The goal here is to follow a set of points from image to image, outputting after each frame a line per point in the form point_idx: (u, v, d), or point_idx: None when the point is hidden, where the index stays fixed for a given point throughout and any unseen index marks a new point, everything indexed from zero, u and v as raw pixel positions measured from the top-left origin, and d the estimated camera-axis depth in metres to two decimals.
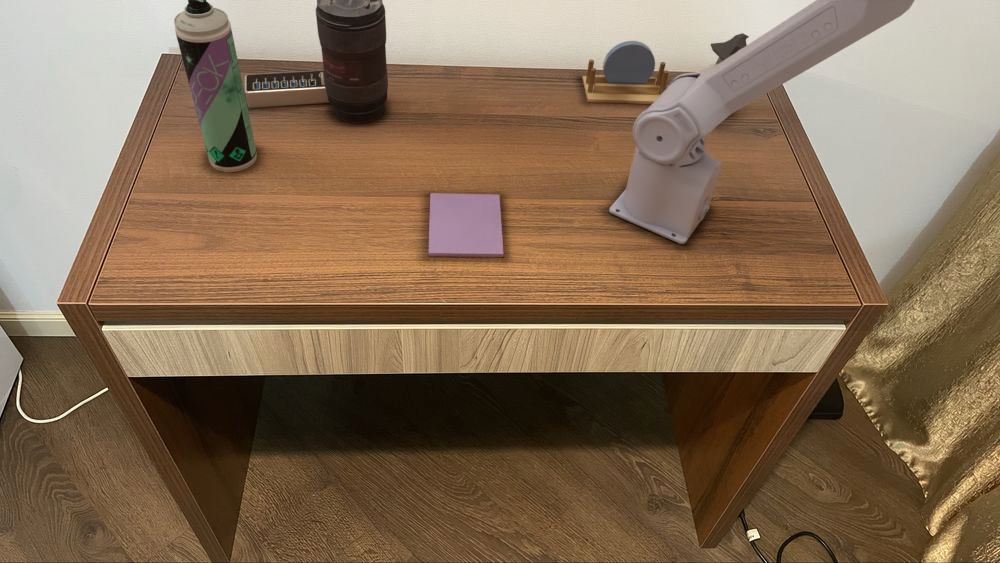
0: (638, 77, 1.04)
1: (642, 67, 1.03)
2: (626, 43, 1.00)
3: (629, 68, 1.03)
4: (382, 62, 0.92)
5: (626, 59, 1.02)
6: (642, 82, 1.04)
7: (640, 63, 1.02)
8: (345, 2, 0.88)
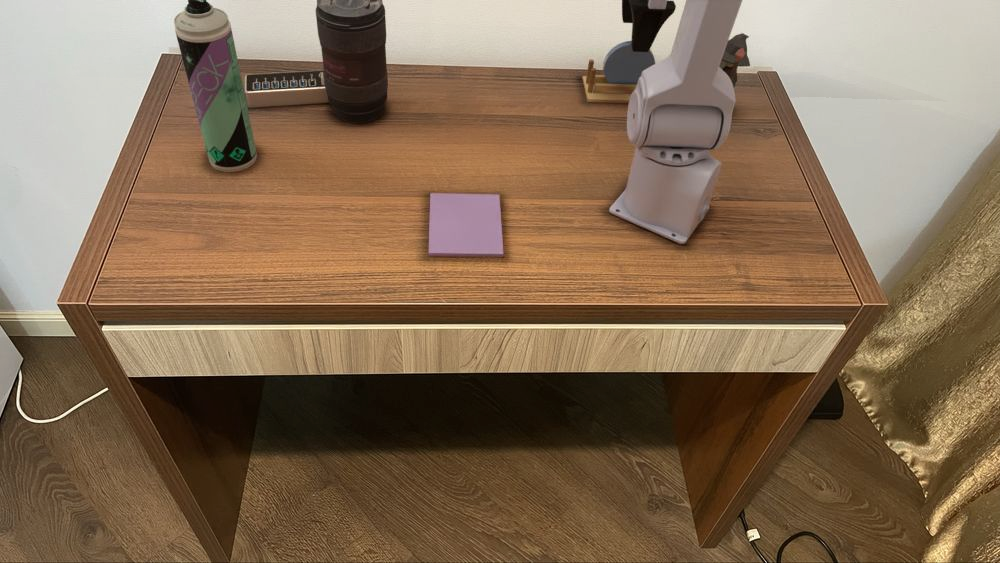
0: (638, 77, 1.04)
1: (642, 67, 1.03)
2: (626, 43, 1.00)
3: (629, 68, 1.03)
4: (382, 62, 0.92)
5: (626, 59, 1.02)
6: None
7: (640, 63, 1.02)
8: (345, 2, 0.88)
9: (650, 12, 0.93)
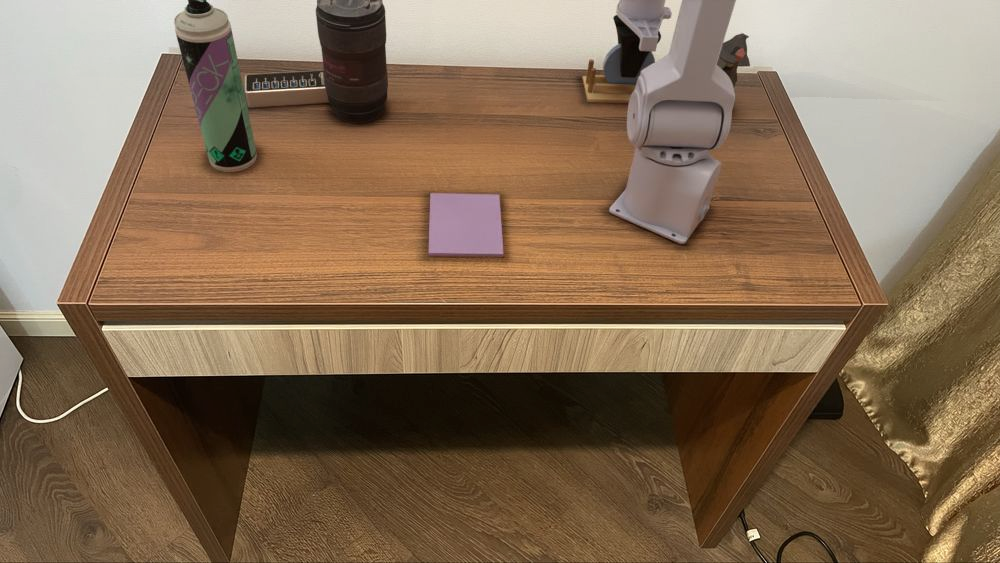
0: None
1: (642, 67, 1.03)
2: None
3: None
4: (382, 62, 0.92)
5: None
6: None
7: None
8: (345, 2, 0.88)
9: (637, 41, 0.99)
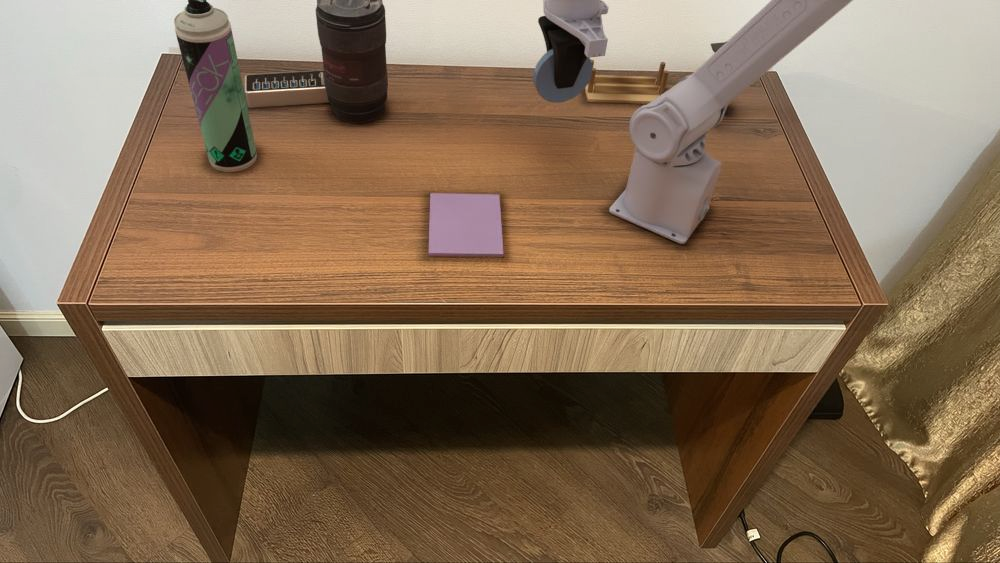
0: (574, 85, 0.88)
1: None
2: None
3: None
4: (382, 62, 0.92)
5: None
6: (579, 90, 0.89)
7: None
8: (345, 2, 0.88)
9: (573, 45, 0.83)
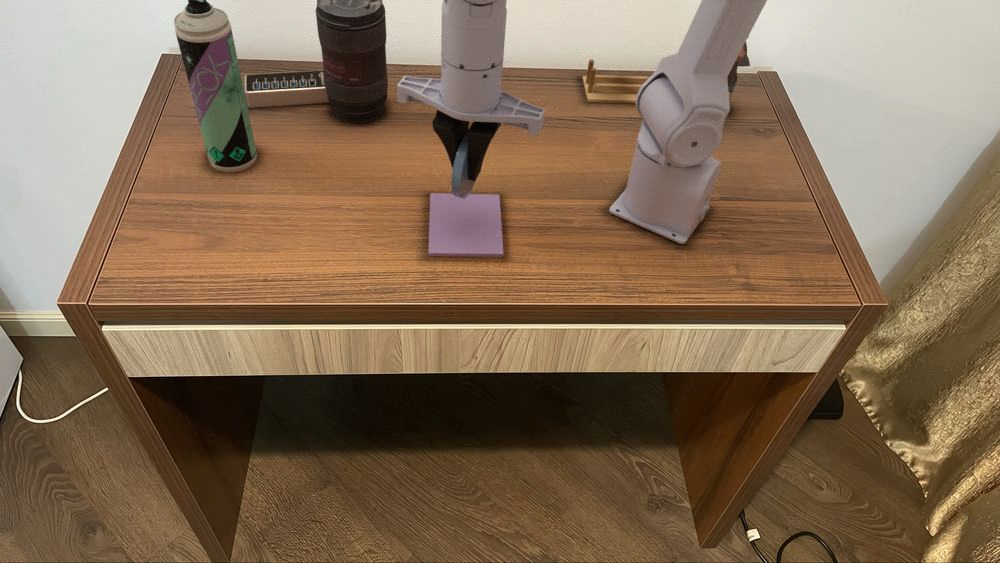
0: None
1: None
2: (467, 143, 0.75)
3: None
4: (382, 62, 0.92)
5: None
6: None
7: None
8: (345, 2, 0.88)
9: None
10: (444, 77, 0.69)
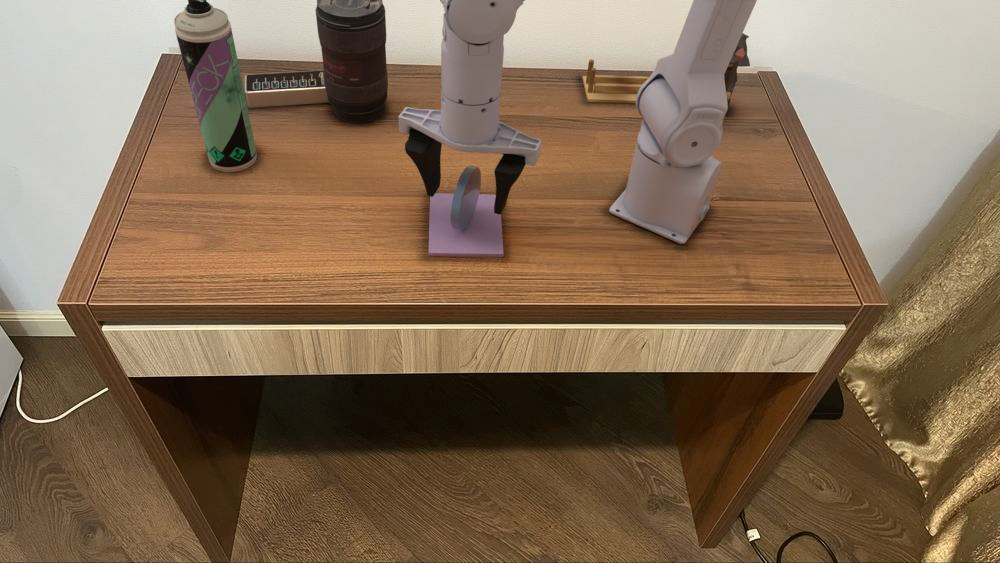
0: (474, 200, 0.83)
1: (476, 188, 0.82)
2: (465, 179, 0.78)
3: (470, 200, 0.81)
4: (382, 62, 0.92)
5: (468, 194, 0.80)
6: (476, 202, 0.84)
7: (475, 186, 0.82)
8: (345, 2, 0.88)
9: None
10: (443, 110, 0.72)
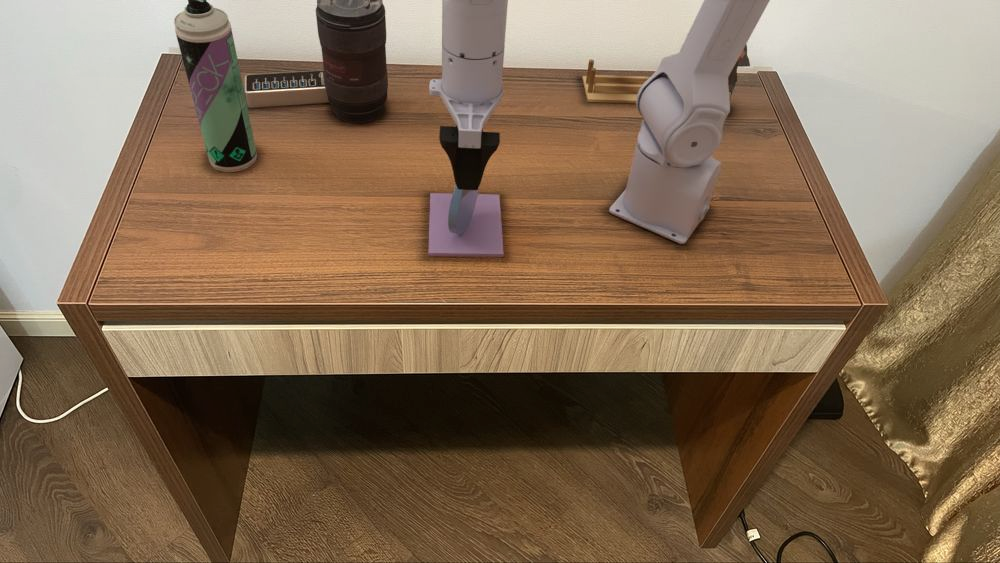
0: (473, 201, 0.83)
1: (473, 190, 0.81)
2: None
3: (468, 204, 0.81)
4: (382, 62, 0.92)
5: (465, 200, 0.79)
6: (475, 200, 0.84)
7: None
8: (345, 2, 0.88)
9: None
10: (495, 72, 0.69)
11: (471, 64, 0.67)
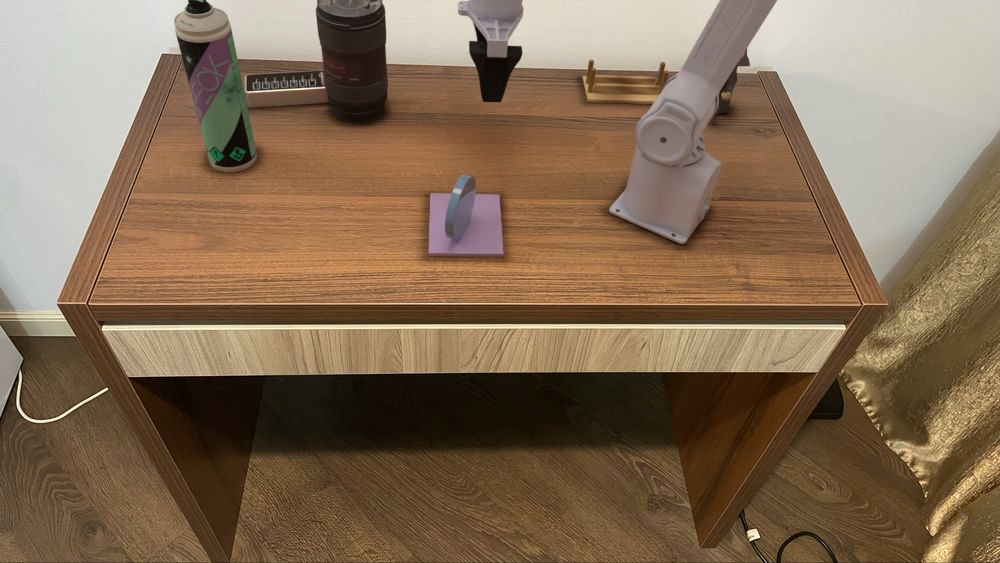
0: (471, 201, 0.82)
1: (470, 193, 0.80)
2: (455, 202, 0.77)
3: (465, 209, 0.80)
4: (382, 62, 0.92)
5: (461, 209, 0.79)
6: (474, 198, 0.83)
7: (468, 194, 0.80)
8: (345, 2, 0.88)
9: None
10: None
11: None
